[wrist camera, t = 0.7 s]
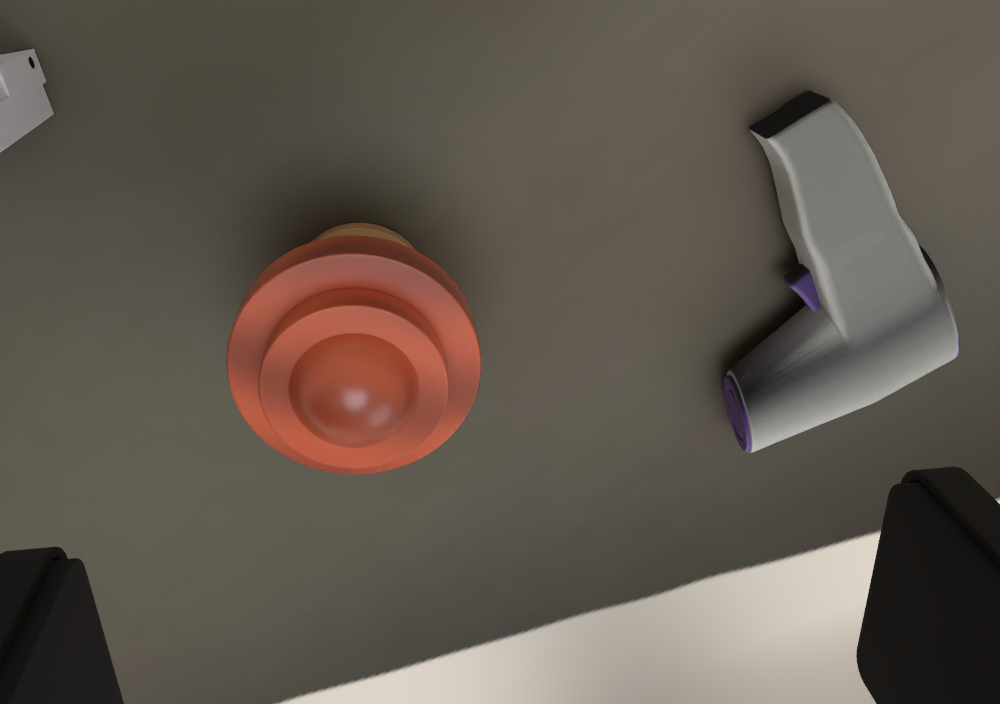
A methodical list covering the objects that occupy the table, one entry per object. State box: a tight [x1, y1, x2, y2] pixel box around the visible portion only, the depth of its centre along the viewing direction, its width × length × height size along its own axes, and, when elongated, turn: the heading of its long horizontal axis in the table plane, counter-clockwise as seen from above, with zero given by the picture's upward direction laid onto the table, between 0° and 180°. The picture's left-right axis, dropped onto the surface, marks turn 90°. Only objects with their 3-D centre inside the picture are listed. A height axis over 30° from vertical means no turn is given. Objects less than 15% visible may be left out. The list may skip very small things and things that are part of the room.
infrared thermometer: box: [724, 91, 960, 453], centre depth 44 cm, size 5×12×15 cm
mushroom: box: [226, 223, 481, 474], centre depth 39 cm, size 10×10×12 cm
